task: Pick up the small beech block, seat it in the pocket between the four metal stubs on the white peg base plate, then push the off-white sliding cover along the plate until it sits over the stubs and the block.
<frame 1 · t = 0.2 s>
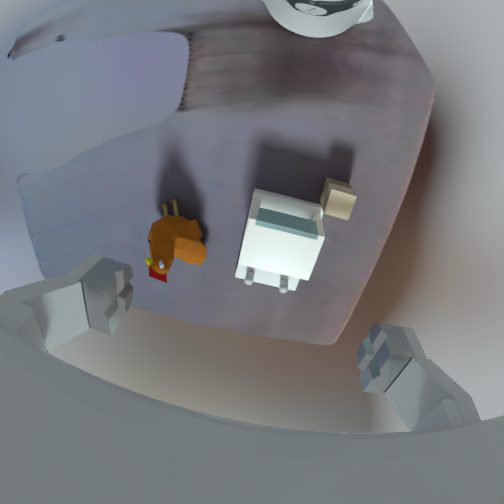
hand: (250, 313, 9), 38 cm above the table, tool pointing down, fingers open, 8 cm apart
cover: (281, 238, 45), point 6 cm above the table, slide at 0.0 cm
white peg base plate: (277, 241, 51), on the table
toy: (186, 229, 53), on the table
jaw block: (334, 191, 45), on the table
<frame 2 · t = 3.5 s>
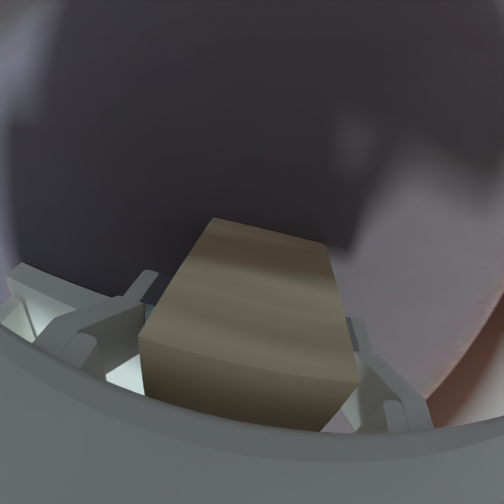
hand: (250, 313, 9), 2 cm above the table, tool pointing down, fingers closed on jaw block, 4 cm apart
cover: (69, 433, 9), point 6 cm above the table, slide at 0.0 cm
white peg base plate: (119, 394, 16), on the table
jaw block: (256, 278, 11), on the table, touching gripper
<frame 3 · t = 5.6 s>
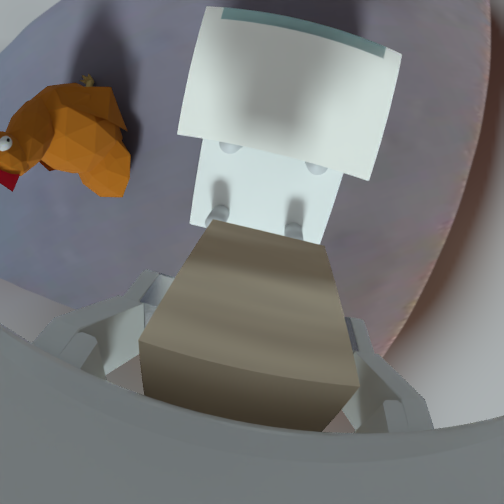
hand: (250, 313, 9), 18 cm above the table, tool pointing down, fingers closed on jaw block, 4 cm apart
cover: (289, 90, 16), point 6 cm above the table, slide at 0.0 cm
white peg base plate: (277, 139, 23), on the table
toy: (105, 133, 24), on the table
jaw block: (256, 280, 11), point 16 cm above the table, touching gripper
when the fingers open (6 cm above the table, at t = 8.2 s): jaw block drops 2 cm, resting on white peg base plate.
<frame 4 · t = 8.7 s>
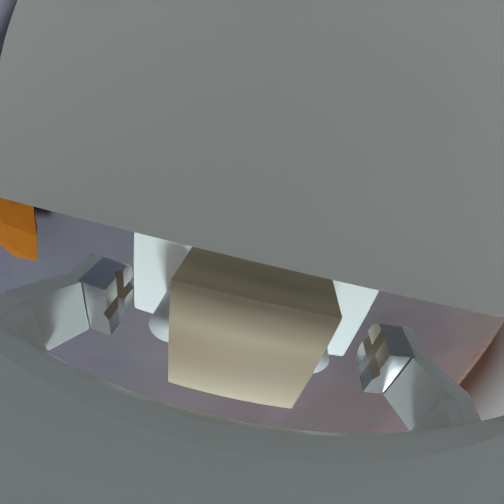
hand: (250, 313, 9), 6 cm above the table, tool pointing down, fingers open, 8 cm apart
cover: (321, 42, 5), point 6 cm above the table, slide at 0.0 cm
white peg base plate: (282, 161, 12), on the table
toy: (18, 157, 13), on the table
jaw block: (259, 256, 12), point 1 cm above the table, touching white peg base plate
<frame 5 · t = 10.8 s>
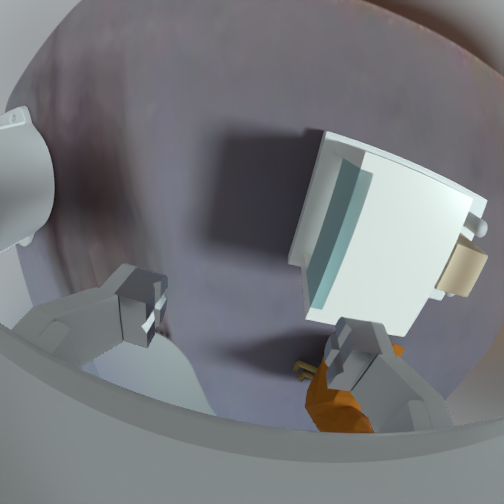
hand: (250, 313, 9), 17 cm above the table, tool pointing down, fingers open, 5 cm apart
cover: (376, 236, 19), point 6 cm above the table, slide at 0.0 cm
white peg base plate: (395, 223, 24), on the table
toy: (347, 352, 32), on the table
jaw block: (433, 241, 23), point 1 cm above the table, touching white peg base plate
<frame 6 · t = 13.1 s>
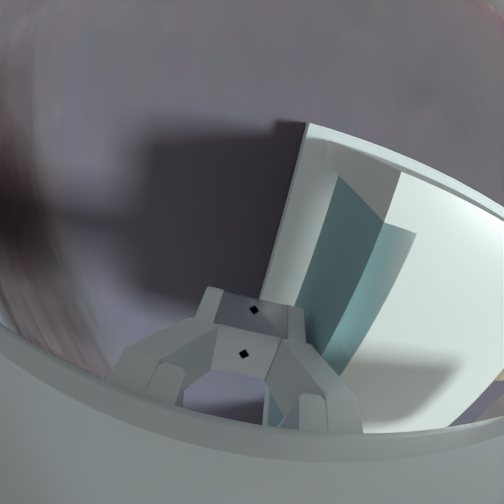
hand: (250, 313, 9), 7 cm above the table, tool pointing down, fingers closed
cover: (392, 315, 10), point 6 cm above the table, slide at 0.0 cm, touching gripper
white peg base plate: (415, 268, 15), on the table
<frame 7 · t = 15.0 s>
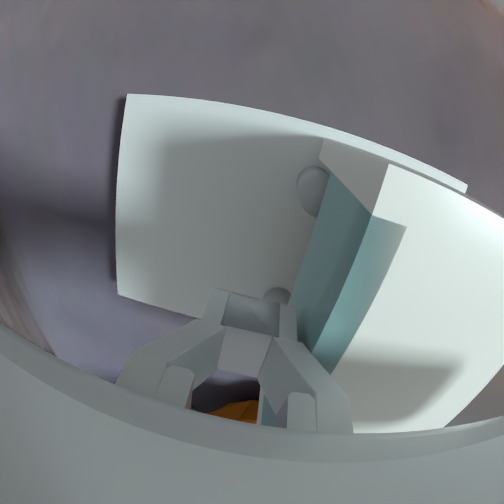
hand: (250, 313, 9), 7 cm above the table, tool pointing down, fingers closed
cover: (388, 313, 10), point 6 cm above the table, slide at 8.6 cm, touching gripper
white peg base plate: (281, 231, 15), on the table
toy: (251, 405, 23), on the table
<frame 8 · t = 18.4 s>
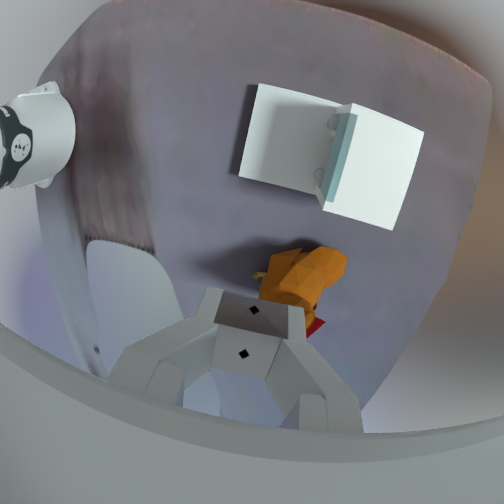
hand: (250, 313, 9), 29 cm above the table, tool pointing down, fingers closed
cover: (365, 163, 28), point 6 cm above the table, slide at 8.5 cm
white peg base plate: (319, 146, 33), on the table
toy: (299, 265, 41), on the table
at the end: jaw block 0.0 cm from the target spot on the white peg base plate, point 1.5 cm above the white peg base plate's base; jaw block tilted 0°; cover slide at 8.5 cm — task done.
